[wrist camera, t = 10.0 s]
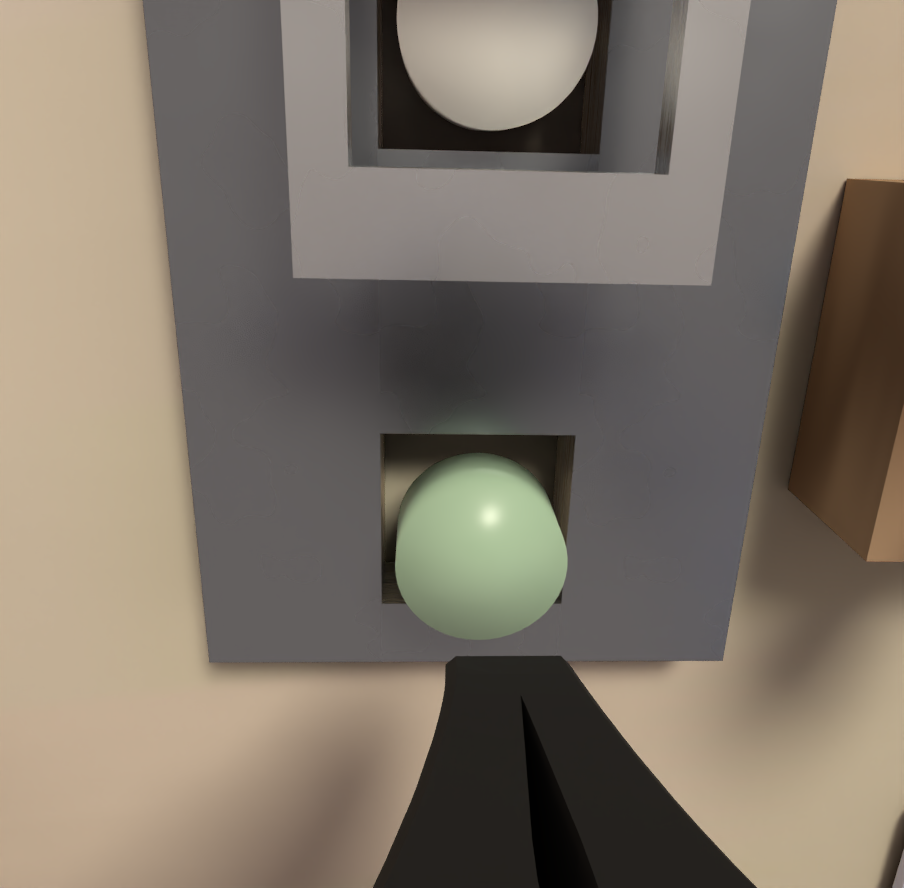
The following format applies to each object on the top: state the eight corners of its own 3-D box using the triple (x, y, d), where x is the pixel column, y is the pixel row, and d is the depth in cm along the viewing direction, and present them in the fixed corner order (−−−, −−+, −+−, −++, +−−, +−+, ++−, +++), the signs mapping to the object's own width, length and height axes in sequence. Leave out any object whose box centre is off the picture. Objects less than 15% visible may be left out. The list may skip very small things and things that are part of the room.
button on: (547, 593, 15) (560, 640, 13) (397, 592, 15) (395, 640, 13) (558, 453, 14) (573, 488, 12) (397, 452, 14) (394, 487, 12)
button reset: (571, 134, 13) (589, 132, 11) (399, 129, 13) (396, 127, 11) (584, -65, 12) (607, -94, 10) (399, -73, 12) (396, -102, 10)
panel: (695, 615, 17) (789, 773, 13) (228, 615, 17) (161, 780, 12) (819, -182, 12) (1042, -366, 8) (154, -214, 12) (-2, -428, 7)
